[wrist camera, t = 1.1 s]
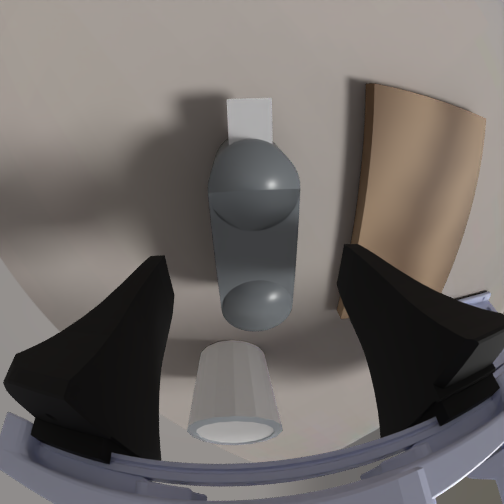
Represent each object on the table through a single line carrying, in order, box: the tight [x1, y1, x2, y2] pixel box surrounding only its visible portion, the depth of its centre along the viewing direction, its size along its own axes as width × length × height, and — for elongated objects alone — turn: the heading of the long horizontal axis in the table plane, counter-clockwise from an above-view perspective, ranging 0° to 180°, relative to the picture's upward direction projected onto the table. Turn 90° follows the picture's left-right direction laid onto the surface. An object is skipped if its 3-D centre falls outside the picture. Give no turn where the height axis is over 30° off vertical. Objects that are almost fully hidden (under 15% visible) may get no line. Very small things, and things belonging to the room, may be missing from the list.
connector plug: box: [208, 98, 300, 331], centre depth 13 cm, size 4×11×4 cm, turn 1°
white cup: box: [187, 340, 283, 445], centre depth 19 cm, size 7×7×7 cm
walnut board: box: [337, 83, 486, 319], centre depth 15 cm, size 10×16×1 cm, turn 2°
